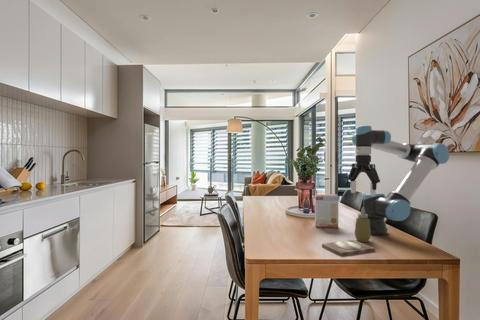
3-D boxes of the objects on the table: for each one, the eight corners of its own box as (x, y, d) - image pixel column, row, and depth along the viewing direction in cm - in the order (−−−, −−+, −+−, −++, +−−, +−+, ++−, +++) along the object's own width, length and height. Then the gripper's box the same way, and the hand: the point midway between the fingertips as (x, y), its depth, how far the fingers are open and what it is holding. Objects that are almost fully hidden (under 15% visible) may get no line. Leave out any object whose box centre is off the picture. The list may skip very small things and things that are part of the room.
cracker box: (336, 225, 184) (336, 194, 184) (338, 228, 178) (338, 195, 178) (314, 225, 185) (314, 193, 185) (315, 227, 179) (316, 194, 179)
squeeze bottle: (366, 238, 155) (366, 206, 155) (373, 243, 147) (374, 208, 147) (351, 238, 155) (352, 206, 155) (358, 243, 147) (358, 208, 147)
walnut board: (353, 242, 148) (353, 239, 148) (375, 251, 135) (375, 247, 135) (321, 246, 141) (321, 243, 141) (341, 256, 128) (341, 251, 128)
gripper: (341, 154, 161) (341, 191, 161) (376, 154, 138) (376, 197, 138) (352, 154, 164) (351, 191, 164) (388, 154, 140) (387, 197, 141)
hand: (362, 194), depth 151 cm, fingers open, 13 cm apart
